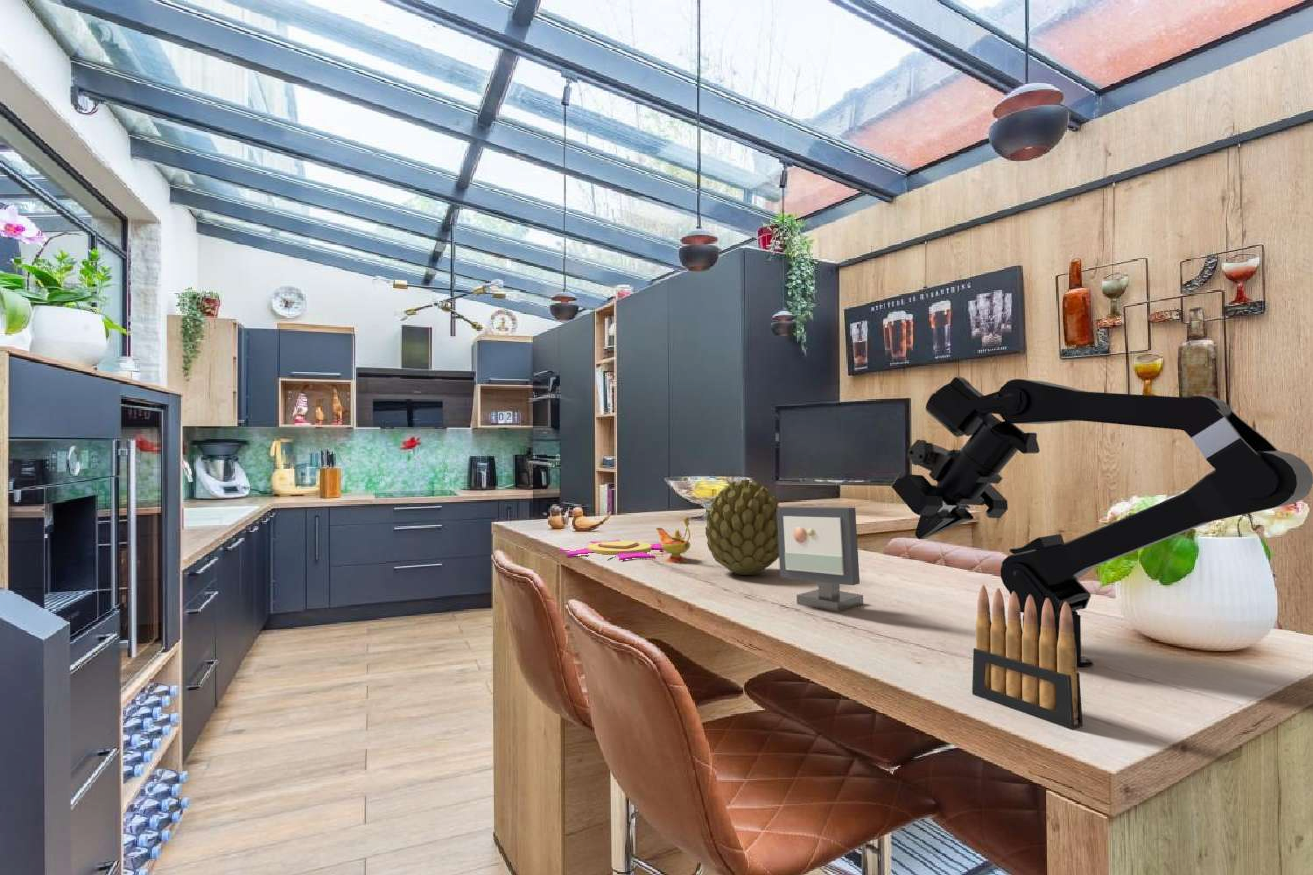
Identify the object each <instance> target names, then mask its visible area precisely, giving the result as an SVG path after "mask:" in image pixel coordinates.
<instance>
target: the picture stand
mask: <svg viewBox="0 0 1313 875" xmlns="http://www.w3.org/2000/svg"><path fill="white" fill-rule="evenodd" d="M817 583H818V588H817V589H814V590H809V591H807V592H803V593H799V594H796V605H800V606H801V605H802V606H806V607H811V608H816V609H819V610H820V609H821V610H826V611H831V612H835V613H838V612H842V611H844V610H848V609H851V608H854V607H857V606H860V605H863V604H864V594H859V593H854V592H853V593H852V592H850V591H849V592H848V591H841V589H840V588H841V587H840V585H841V584H835V583H826V582H817Z"/></svg>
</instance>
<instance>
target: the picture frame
mask: <svg viewBox="0 0 1313 875" xmlns="http://www.w3.org/2000/svg"><path fill="white" fill-rule="evenodd" d="M856 514H857V513H856V507H850V506H849V507H846V506H845V507H844V506H841V507H839V506H837V507H836V506H834V507H833V506H780V507H779V506H778V507H777V525H778V544H779V558H778V559H779V577H780V578H783V579H792V580H801V581H809V582H817V583H818V582H826V583H835V584H840V585H843V586H844V585H846V586H856V585H859V584H860V582H861V581H860V570H859V569H860V568H859V566H860V565H859V550H858V548H859V547H858V533H857V532H858V531H857V529H858V528H857V515H856Z"/></svg>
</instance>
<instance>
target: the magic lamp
mask: <svg viewBox="0 0 1313 875" xmlns="http://www.w3.org/2000/svg"><path fill="white" fill-rule="evenodd" d="M689 521H690V518H689V516H687V517H685V518H684V519H683V522H684V525H685V527H686V528H685V533H684V536H683V535H682V533H681V531H679V529H676V530H675V532H674V534H673V535H672V536H671V535H669V533H668V532H667V531H666V530H665V529H664V528H662V527H656V528H655V530H656V531H657V533H658V537H659V540H660V543H661V546H662V548H663V549H664V550H665V551H666V552H668V553H667V554H670V557H668V558H666V559H665V562H666V563H671V562H680V563H685V562H687V559H685V558H683V557H682V555H681V554H686V552H687V551H688V550H689V549H690V547H691V543H690V542H689V540H690V539H691V532H690V529H689V525H690V522H689ZM687 533H688V537H687V539H686V535H687ZM682 536H683V538H682ZM685 539H686V540H685Z"/></svg>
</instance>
